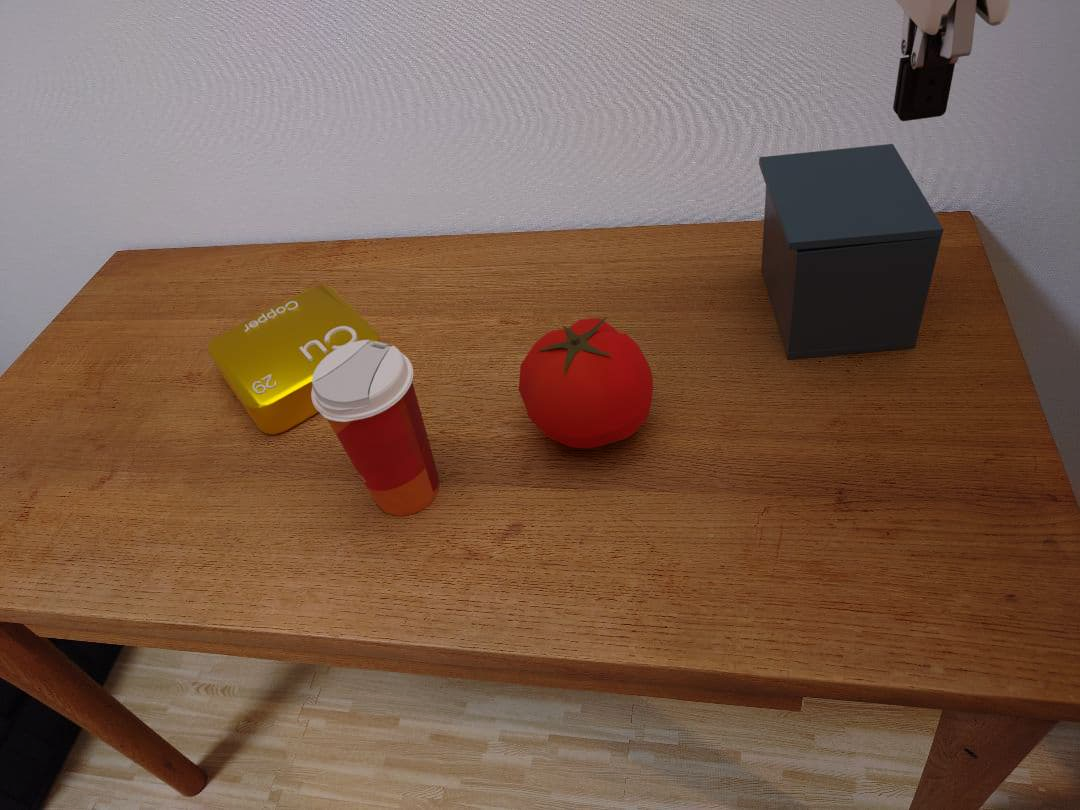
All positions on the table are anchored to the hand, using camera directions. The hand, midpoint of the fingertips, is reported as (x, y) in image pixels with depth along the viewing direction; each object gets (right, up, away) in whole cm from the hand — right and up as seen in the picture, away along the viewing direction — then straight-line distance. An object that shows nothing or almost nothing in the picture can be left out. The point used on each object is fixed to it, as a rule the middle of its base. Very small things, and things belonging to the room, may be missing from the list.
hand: (918, 113), depth 58 cm
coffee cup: (-40, -29, +15) cm, 51 cm away
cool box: (+2, -11, +24) cm, 26 cm away
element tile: (-53, -18, +29) cm, 63 cm away
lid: (0, -2, +15) cm, 15 cm away
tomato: (-23, -23, +17) cm, 37 cm away
